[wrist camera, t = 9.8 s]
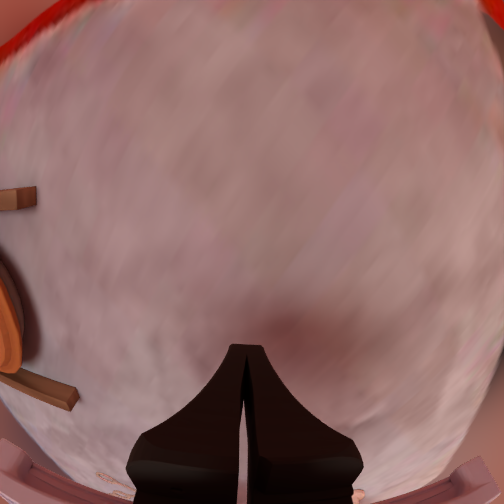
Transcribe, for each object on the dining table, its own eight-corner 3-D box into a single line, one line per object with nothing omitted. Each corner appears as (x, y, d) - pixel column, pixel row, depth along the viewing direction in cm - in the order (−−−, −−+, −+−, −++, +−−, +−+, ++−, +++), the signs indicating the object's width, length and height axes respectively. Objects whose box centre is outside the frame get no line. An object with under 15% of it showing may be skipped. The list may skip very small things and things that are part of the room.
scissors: (85, 469, 29) (203, 494, 29) (87, 466, 30) (204, 490, 29) (109, 495, 32) (213, 514, 32) (110, 492, 33) (213, 510, 32)
